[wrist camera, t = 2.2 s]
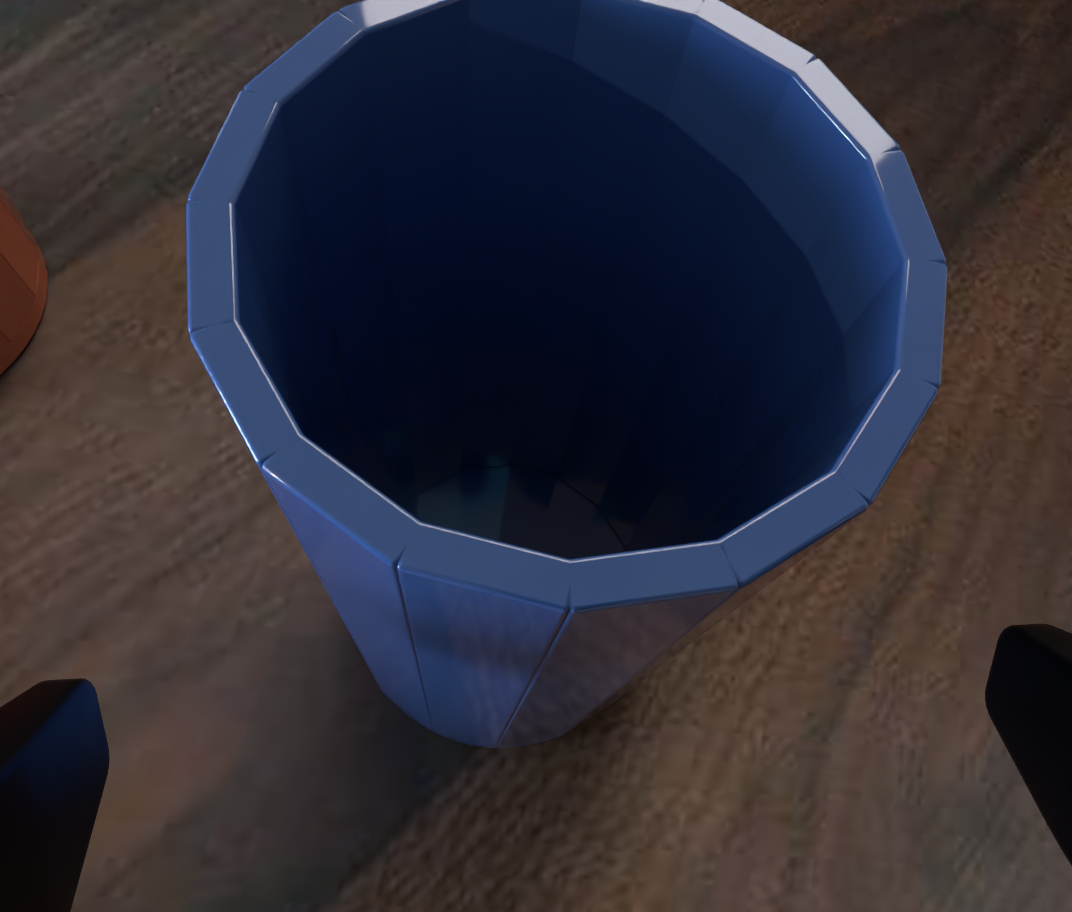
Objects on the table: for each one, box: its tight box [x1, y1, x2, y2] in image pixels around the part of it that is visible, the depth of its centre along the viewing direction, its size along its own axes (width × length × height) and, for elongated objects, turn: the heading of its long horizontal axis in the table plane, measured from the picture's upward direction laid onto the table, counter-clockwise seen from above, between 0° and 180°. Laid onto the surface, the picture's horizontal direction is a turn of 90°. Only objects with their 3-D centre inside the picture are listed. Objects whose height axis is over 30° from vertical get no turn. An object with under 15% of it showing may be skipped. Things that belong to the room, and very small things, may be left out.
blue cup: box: [186, 0, 947, 749], centre depth 13 cm, size 6×6×13 cm
